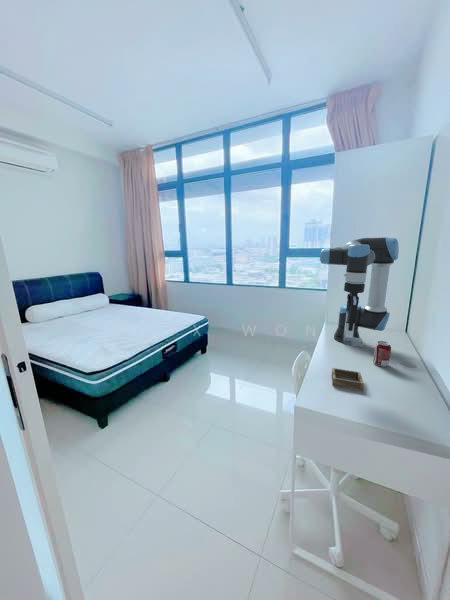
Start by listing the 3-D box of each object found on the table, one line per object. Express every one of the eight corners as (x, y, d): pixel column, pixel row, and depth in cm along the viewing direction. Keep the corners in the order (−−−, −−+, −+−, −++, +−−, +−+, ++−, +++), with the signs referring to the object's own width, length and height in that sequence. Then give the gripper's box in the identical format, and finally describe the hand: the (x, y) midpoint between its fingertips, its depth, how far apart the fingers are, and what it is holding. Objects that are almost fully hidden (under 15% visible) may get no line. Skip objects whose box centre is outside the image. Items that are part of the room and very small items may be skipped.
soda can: (390, 368, 124) (394, 346, 122) (375, 366, 126) (379, 345, 123) (384, 361, 131) (388, 340, 128) (371, 360, 132) (374, 340, 129)
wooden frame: (331, 374, 119) (332, 367, 118) (359, 379, 115) (360, 372, 114) (332, 385, 110) (333, 378, 109) (362, 390, 106) (363, 383, 105)
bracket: (344, 344, 107) (347, 313, 103) (343, 340, 111) (346, 310, 108) (362, 346, 104) (366, 315, 101) (360, 342, 109) (364, 312, 105)
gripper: (342, 278, 111) (337, 327, 117) (347, 285, 95) (340, 341, 100) (361, 279, 109) (355, 329, 114) (369, 286, 93) (361, 343, 98)
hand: (348, 334), depth 107 cm, fingers closed on bracket, 5 cm apart
